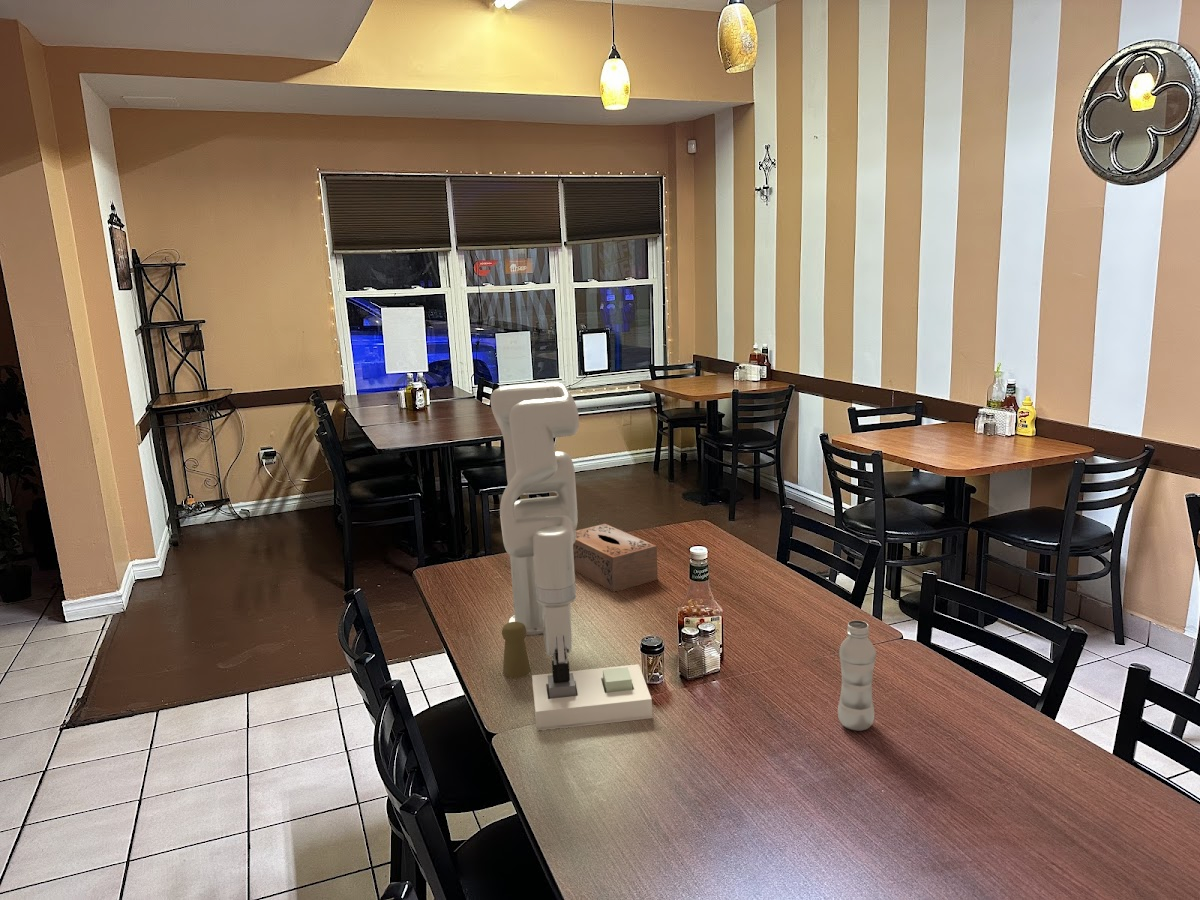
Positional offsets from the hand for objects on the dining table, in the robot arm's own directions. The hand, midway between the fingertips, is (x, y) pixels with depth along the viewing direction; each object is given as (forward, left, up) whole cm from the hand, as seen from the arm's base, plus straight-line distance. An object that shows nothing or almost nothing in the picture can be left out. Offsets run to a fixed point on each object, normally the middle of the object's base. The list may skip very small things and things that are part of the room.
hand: (561, 680), depth 156 cm
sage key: (0, +11, -3) cm, 11 cm away
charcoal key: (0, 0, -3) cm, 3 cm away
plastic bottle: (+17, +52, -6) cm, 55 cm away
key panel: (0, +5, -6) cm, 8 cm away
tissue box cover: (-70, +19, -7) cm, 73 cm away
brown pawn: (-17, -9, -6) cm, 20 cm away
